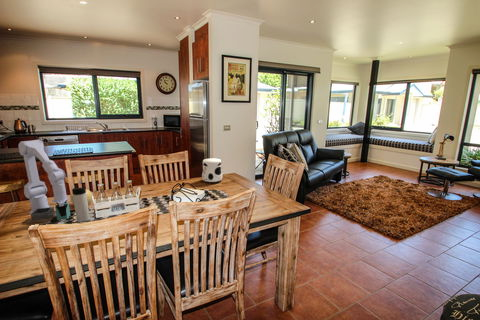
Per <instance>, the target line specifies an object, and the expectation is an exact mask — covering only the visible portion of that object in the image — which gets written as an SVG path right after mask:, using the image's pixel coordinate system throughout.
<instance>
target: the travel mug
mask: <svg viewBox="0 0 480 320" xmlns="http://www.w3.org/2000/svg"><path fill="white" fill-rule="evenodd" d="M86 189H87V188H86V187H85V186H81V187H73V188H72V189H71V190H72V191H71V192H72V194H73V199H74V204H73V205H74V212H75V219H76V223H77V224H81V223H80V222H86V223H88V222H90V221H91V218H90V211H89V204H88V202H87V195H86Z"/></svg>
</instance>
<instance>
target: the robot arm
mask: <svg viewBox="0 0 480 320" xmlns="http://www.w3.org/2000/svg"><path fill="white" fill-rule="evenodd" d="M44 148H45V145H44V142H43V141H42V140H41V139H33V140H24V141H20V142H19V143H18V151H19V154H20V156H22V157H23V161H24V165H25V169H26V175H27V178H28V182H27V183H26V184H25V185H24V186H23V189H24V190H23V193H24V196H25V197H26V198H27V199H29V202H30V209H31V210H30V211H29V212H28V214H30V215H31V214H32V213H33V212H34V211H35V210H36V209H39V208H49V207H51V205H49V201H48V197H47V196H46V195H47V192H48V188H47V186H46V183H45V182H44V181H43V180H42V181H41V180H40V176H39V170H38V167H37V161H36V158H37V159H38V160H39V161H40V162H41V163H42V164H41V167H42V168H43V170H44V171H45V172H46V173H47V178H48V180H49V182H50V185H51V186H52V192H53V193H52V194H53V199H52V200H51V201H52V203H55V204H56V205H55V206H54V208H55V207H56V208H57V209H58V211H59V213H60V215H61V217H62V216H66V208H67V206H68V204H69V203H68V202H67V201H68V196H67V190H66V185H65V180H66V178H67V175H66V173H65V170H63V169H62V168H59V167H58V165H57V164H56V162H55V161H54V160H52V159H49V156H48V154H47V153H46V152H45V149H44ZM64 203H68V204H64ZM58 204H59V205H58Z"/></svg>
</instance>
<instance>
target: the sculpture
mask: <svg viewBox="0 0 480 320" xmlns="http://www.w3.org/2000/svg"><path fill="white" fill-rule="evenodd" d="M86 195H87V202H88V205H90V204H92V202H93V200H92V196H93V197H94V195H93V193H92V191H90V189H87V188H86ZM70 201H71V202H72V204H73V205H74V199H73V193H71V195H70Z"/></svg>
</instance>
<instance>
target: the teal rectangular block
mask: <svg viewBox="0 0 480 320" xmlns="http://www.w3.org/2000/svg"><path fill="white" fill-rule="evenodd" d="M64 204H68V206H67V208H66V216H62V217H61V215H60V213H59V211H58V209H57V208H56V207H55V206H54V210H55V211H56V220H57V221H62V220H61V219H64V220H68V219H69V218H70V217H71V210H70V205H69V202H66V203H64ZM58 205H59V204H58ZM69 216H70V217H69Z"/></svg>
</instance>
